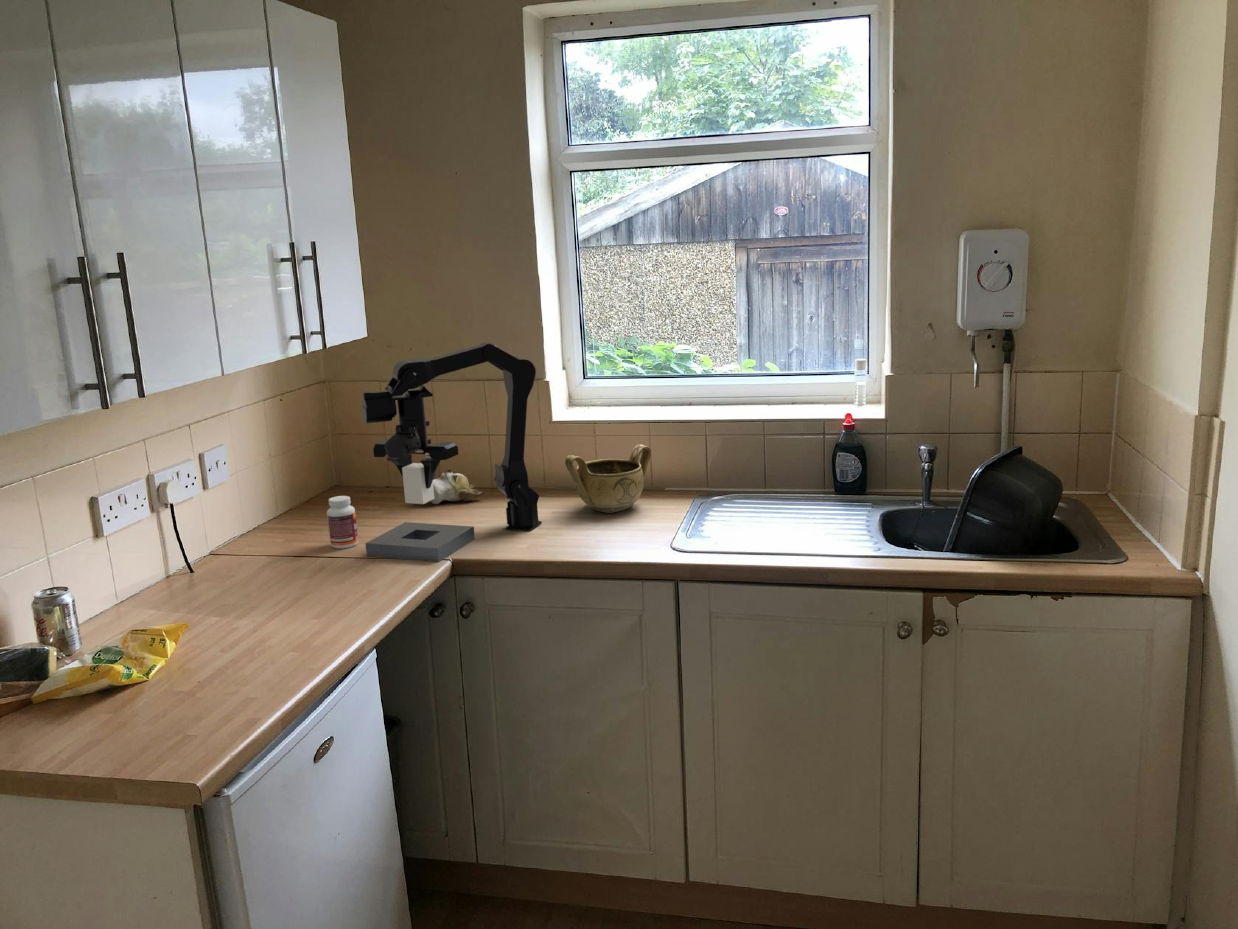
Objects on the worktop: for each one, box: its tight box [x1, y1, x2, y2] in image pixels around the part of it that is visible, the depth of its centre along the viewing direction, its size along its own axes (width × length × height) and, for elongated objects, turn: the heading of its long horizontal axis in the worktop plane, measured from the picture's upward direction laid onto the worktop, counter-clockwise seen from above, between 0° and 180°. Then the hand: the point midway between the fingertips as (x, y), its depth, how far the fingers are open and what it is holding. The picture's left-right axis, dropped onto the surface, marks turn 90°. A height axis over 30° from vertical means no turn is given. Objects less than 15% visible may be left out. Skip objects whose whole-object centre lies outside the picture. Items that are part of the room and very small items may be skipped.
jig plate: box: [365, 521, 476, 563], centre depth 221 cm, size 18×16×3 cm
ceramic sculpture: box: [430, 469, 486, 505], centre depth 259 cm, size 11×9×15 cm
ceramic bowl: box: [564, 443, 652, 514], centre depth 242 cm, size 22×17×15 cm
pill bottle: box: [326, 495, 359, 550], centre depth 225 cm, size 6×6×11 cm
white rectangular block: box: [402, 462, 434, 505], centre depth 221 cm, size 5×5×8 cm
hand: (418, 487), depth 221 cm, fingers closed on white rectangular block, 5 cm apart
